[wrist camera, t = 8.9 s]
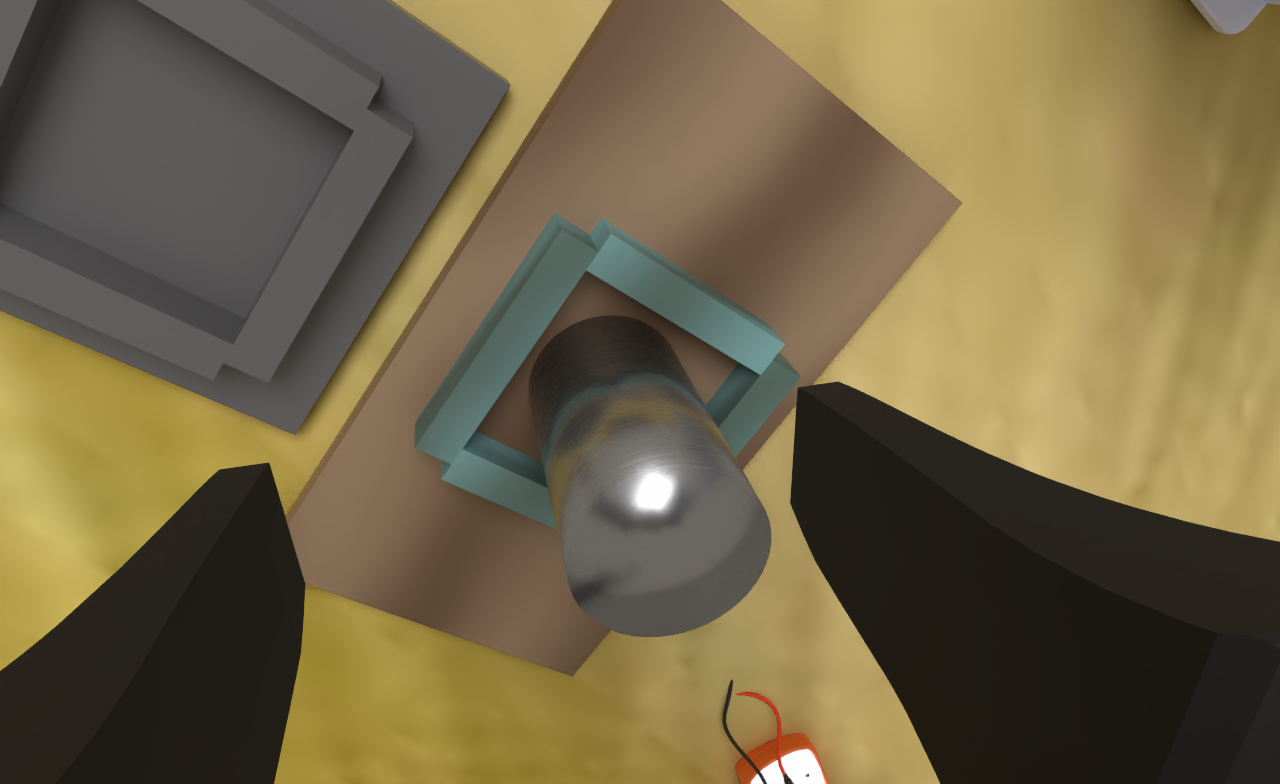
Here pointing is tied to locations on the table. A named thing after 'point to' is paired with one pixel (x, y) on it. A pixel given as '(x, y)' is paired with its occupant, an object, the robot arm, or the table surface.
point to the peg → (641, 482)
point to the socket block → (223, 179)
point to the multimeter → (777, 756)
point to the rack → (611, 310)
